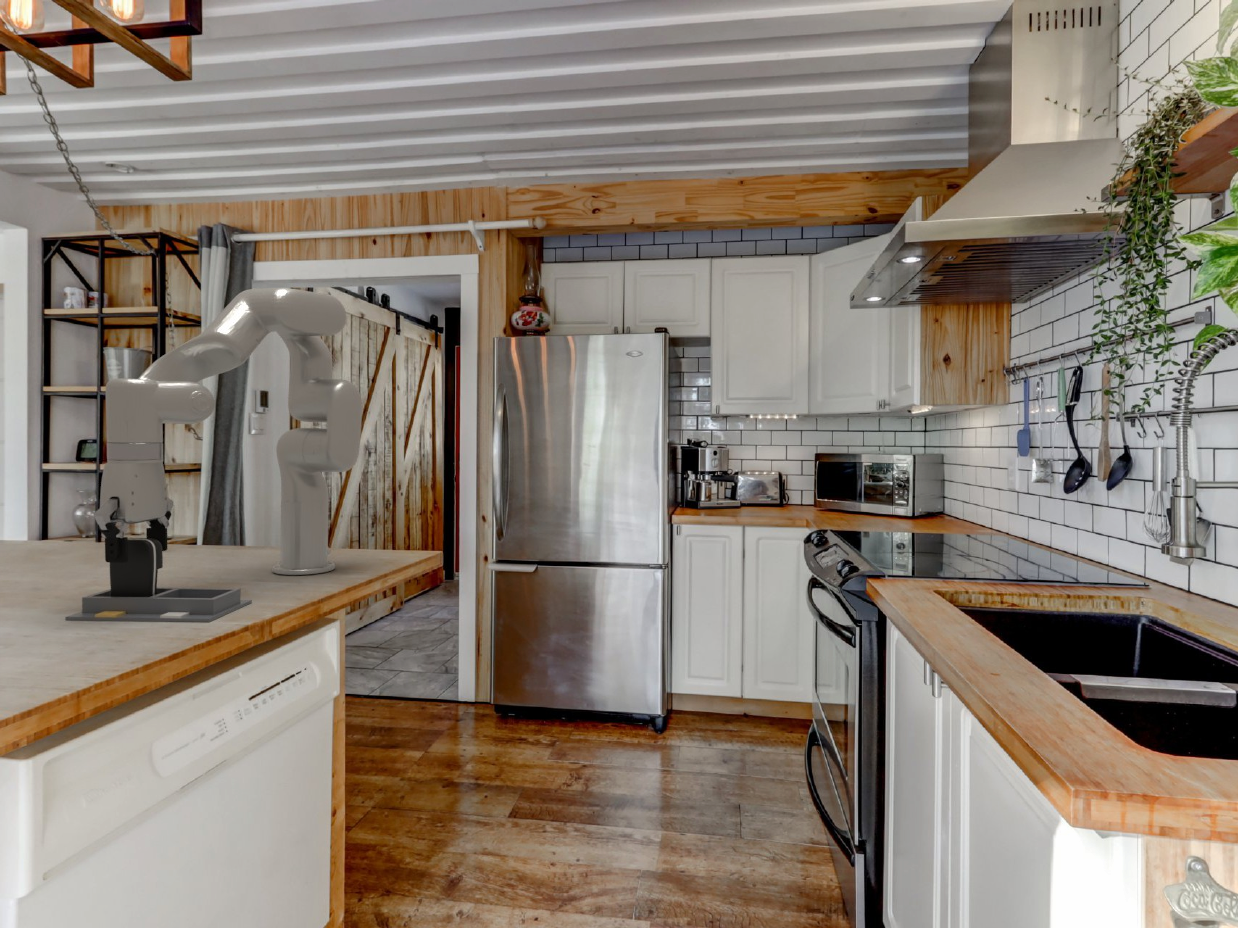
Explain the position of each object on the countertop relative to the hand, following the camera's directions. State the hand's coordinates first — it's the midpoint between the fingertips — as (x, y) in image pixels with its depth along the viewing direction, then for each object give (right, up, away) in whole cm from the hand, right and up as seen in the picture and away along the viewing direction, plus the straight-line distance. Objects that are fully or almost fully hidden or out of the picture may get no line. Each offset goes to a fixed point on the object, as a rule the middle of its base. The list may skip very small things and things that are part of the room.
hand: (137, 556), depth 111 cm
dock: (+5, -9, 0) cm, 10 cm away
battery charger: (0, -9, +1) cm, 9 cm away
